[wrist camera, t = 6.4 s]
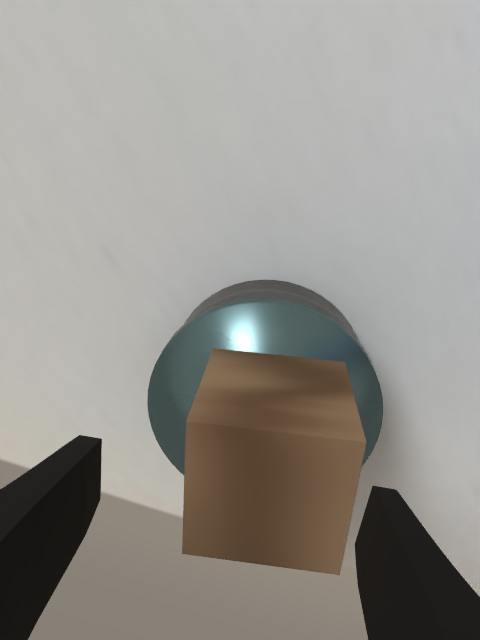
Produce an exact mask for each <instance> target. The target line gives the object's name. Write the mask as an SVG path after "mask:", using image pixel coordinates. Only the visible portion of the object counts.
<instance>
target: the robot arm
mask: <svg viewBox="0 0 480 640" xmlns="http://www.w3.org/2000/svg"><path fill="white" fill-rule="evenodd" d="M101 445H102V439H99V438H93V437H88V436H82V435H79V436H77V437H76V438H75V439H73V440H72V441H70V442H69V443H67V444H66V445H64V446H63V447H62V448H60V449H59V450H57V451H56V452H55V453H53V454H52V455H50V456H49V457H48V458H46V459H45V460H43V461H42V462H40V463H39V464H38V465H36V466H35V467H33V468H32V469H30V470H29V471H27V472H26V473H25V474H23V475H22V476H20V477H19V478H17V479H16V480H14V481H13V482H11V483H10V484H8V485H7V486H6V487H4V488H2V489H0V640H28V638H29V636H30V634H31V632H32V630H33V628H34V626H35V624H36V623H37V621H38V619H39V617H40V615H41V613H42V612H43V610H44V608H45V606H46V605H47V603H48V601H49V599H50V598H51V596H52V594H53V592H54V590H55V589H56V587H57V585H58V583H59V581H60V580H61V578H62V576H63V574H64V573H65V571H66V569H67V567H68V566H69V564H70V562H71V560H72V558H73V556H74V555H75V553H76V551H77V549H78V548H79V546H80V544H81V542H82V540H83V539H84V537H85V535H86V532H87V530H88V528H89V525H90V523H91V521H92V518H93V516H94V513H95V511H96V508H97V506H98V503H99V501H100V490H101ZM355 554H356V568H357V579H358V588H359V594H360V599H361V604H362V609H363V614H364V620H365V624H366V630H367V635H368V640H480V597H479V596H478V595H477V593H476V592H475V591H474V590H473V589H472V588H471V586H470V585H469V584H468V583H467V582H466V581H465V579H464V578H463V577H462V576H461V575H460V573H459V572H458V571H457V570H456V569H455V567H454V566H453V565H452V564H451V562H450V561H449V560H448V559H447V557H446V556H445V555H444V553H443V552H442V551H441V550H440V548H439V547H438V546H437V544H436V543H435V542H434V540H433V539H432V538H431V536H430V535H429V534H428V532H427V531H426V530H425V528H424V527H423V526H422V524H421V523H420V522H419V520H418V519H417V517H416V516H415V515H414V513H413V512H412V511H411V509H410V508H409V506H408V505H407V504H406V502H405V501H404V500H403V498H402V497H401V495H400V494H399V493H398V491H397V490H394V489H389V488H383V487H377V486H372V490H371V493H370V496H369V499H368V503H367V506H366V509H365V513H364V516H363V519H362V523H361V526H360V529H359V532H358V536H357V539H356V542H355Z"/></svg>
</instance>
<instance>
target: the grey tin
mask: <svg viewBox="0 0 480 640" xmlns="http://www.w3.org/2000/svg"><path fill="white" fill-rule="evenodd" d="M213 348H216V349H225V350H235V351H245V352H255V353H264V354H274V355H284V356H294V357H303V358H313V359H323V360H333V361H342V362H345V364H346V368H347V371H348V375H349V379H350V383H351V386H352V390H353V394H354V398H355V401H356V405H357V409H358V412H359V416H360V420H361V424H362V427H363V431H364V435H365V439H366V447H365V452H364V457H363V462H362V465H363V464H364V463H365V462H366V460H367V459H368V457H369V455H370V454H371V452H372V451H373V448H374V446H375V444H376V442H377V439H378V436H379V433H380V429H381V425H382V416H383V401H382V394H381V389H380V384H379V382H378V379H377V376H376V373H375V371H374V368H373V366H372V363H371V361H370V359H369V357H368V355H367V354H366V352H365V350H364V348H363V347H362V346H361V344H360V343H359V342H358V340H357V337H356V335H355V333H354V331H353V329H352V327H351V325H350V324H349V322H348V321H347V320H346V318H345V317H344V315H343V314H342V313H341V312H340V311H339V310H338V309H337V308H336V307H335V306H334V305H333V304H332V303H330V302H329V301H328V300H326V299H325V298H324V297H322V296H321V295H319V294H317V293H315V292H314V291H312V290H309V289H307V288H305V287H302V286H300V285H296V284H293V283H289V282H284V281H276V280H255V281H247V282H243V283H239V284H235V285H232V286H230V287H227V288H225V289H222V290H220V291H219V292H217V293H215V294H213V295H211V296H210V297H209V298H207V299H206V300H205V301H203V302H202V303H201V304H200V305H199V306H198V307H197V308H196V309H195V310H194V311H193V312H192V314H191V315H190V316H189V318H188V319H187V320H186V322H185V324H184V325H183V326H182V327H181V328H180V329H179V330H178V331H177V332H176V333H175V334H174V335H173V337H172V338H171V339H170V341H169V342H168V343H167V345H166V346H165V348H164V350H163V351H162V353H161V355H160V357H159V359H158V360H157V362H156V364H155V367H154V369H153V372H152V375H151V378H150V383H149V388H148V412H149V418H150V422H151V426H152V430H153V432H154V435H155V437H156V440H157V442H158V443H159V445H160V447H161V449H162V451H163V452H164V454H165V455H166V456H167V458H168V459H169V460H170V462H171V463H172V464H173V465H174V466H175V467H176V468H177V469H178V470H179V471H180V472H181V473H182V474H183V475H185V440H186V420H187V417H188V415H189V412H190V409H191V407H192V404H193V401H194V399H195V396H196V393H197V390H198V388H199V385H200V382H201V380H202V377H203V374H204V372H205V369H206V366H207V363H208V361H209V358H210V355H211V353H212V350H213ZM361 467H362V466H361Z"/></svg>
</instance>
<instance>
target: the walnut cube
mask: <svg viewBox="0 0 480 640" xmlns="http://www.w3.org/2000/svg"><path fill="white" fill-rule="evenodd" d="M365 447H366V439H365V435H364V431H363V427H362V424H361V420H360V416H359V412H358V409H357V405H356V401H355V398H354V394H353V390H352V386H351V383H350V379H349V375H348V371H347V368H346V364H345V362H342V361H333V360H323V359H313V358H303V357H294V356H284V355H274V354H264V353H255V352H245V351H235V350H225V349H216V348H213V350H212V353H211V355H210V358H209V361H208V363H207V366H206V369H205V372H204V374H203V377H202V380H201V382H200V385H199V388H198V390H197V393H196V396H195V399H194V401H193V404H192V407H191V409H190V412H189V415H188V417H187V420H186V440H185V475H184V511H183V547H182V554H188V555H196V556H203V557H210V558H218V559H225V560H232V561H240V562H247V563H255V564H262V565H270V566H277V567H284V568H292V569H299V570H307V571H314V572H322V573H329V574H336V575H340V570H341V565H342V560H343V555H344V550H345V545H346V540H347V536H348V531H349V526H350V521H351V516H352V511H353V506H354V501H355V496H356V491H357V486H358V481H359V476H360V471H361V466H362V462H363V457H364V452H365Z"/></svg>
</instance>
